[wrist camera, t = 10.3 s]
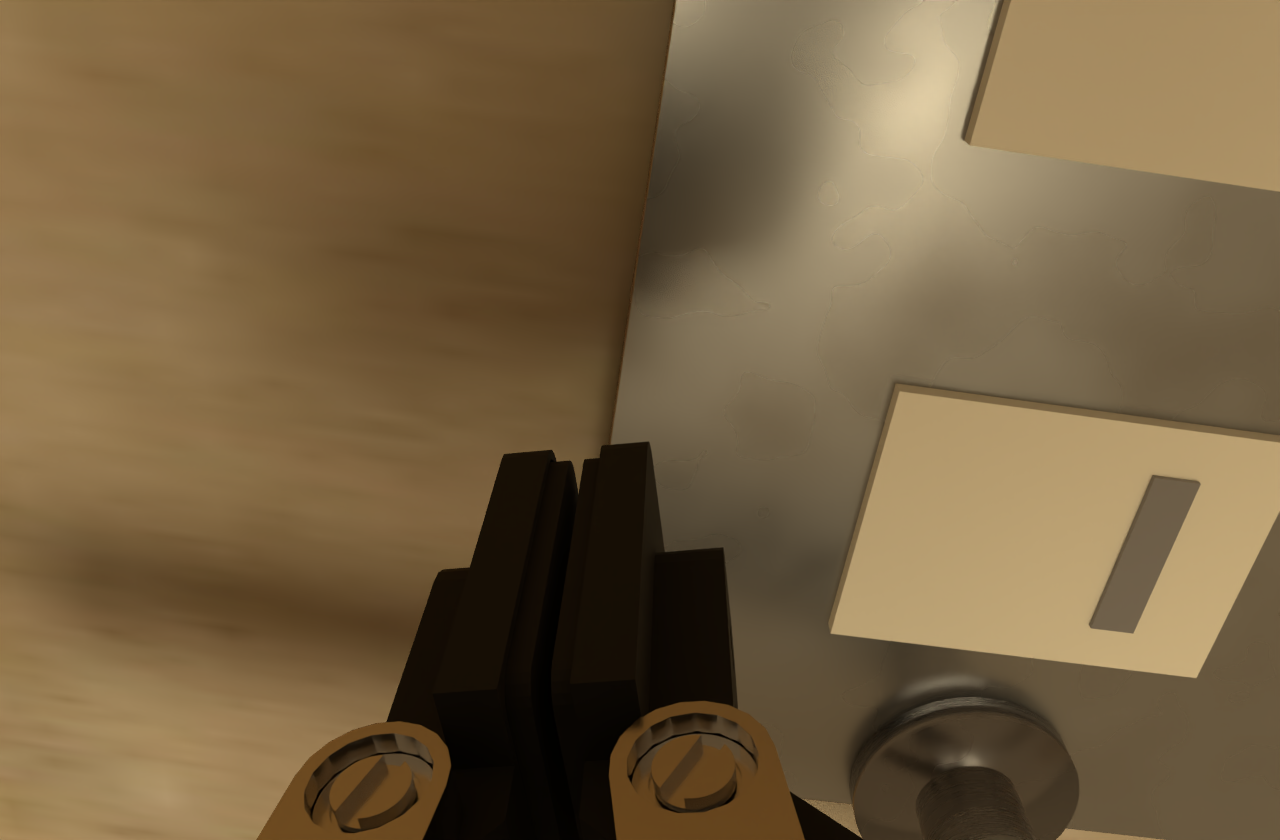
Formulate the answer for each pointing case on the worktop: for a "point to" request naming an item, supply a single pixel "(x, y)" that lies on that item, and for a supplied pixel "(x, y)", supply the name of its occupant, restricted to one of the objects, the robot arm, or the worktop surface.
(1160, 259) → the plate
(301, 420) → the worktop surface
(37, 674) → the worktop surface
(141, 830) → the worktop surface
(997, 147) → the label
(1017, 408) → the label
